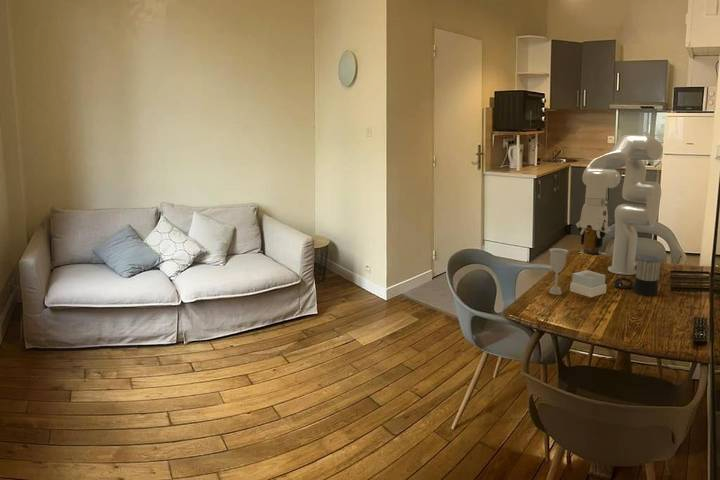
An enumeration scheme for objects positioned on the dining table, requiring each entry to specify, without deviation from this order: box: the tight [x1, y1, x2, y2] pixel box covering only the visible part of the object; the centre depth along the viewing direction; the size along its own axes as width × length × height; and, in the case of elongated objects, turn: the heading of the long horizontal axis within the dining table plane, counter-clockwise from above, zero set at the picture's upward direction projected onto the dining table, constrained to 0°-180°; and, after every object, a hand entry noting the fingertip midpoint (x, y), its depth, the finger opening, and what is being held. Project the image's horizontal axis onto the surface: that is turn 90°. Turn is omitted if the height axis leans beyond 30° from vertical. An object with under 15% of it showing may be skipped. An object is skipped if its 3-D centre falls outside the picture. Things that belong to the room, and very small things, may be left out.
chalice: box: [548, 247, 569, 296], centre depth 243 cm, size 7×7×18 cm
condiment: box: [578, 225, 607, 257], centre depth 241 cm, size 7×8×12 cm
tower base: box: [569, 282, 607, 298], centre depth 246 cm, size 10×10×4 cm
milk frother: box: [613, 254, 663, 297], centre depth 247 cm, size 14×16×15 cm
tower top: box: [571, 269, 607, 288], centre depth 245 cm, size 9×9×4 cm
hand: (591, 245), depth 242 cm, fingers closed on condiment, 6 cm apart
